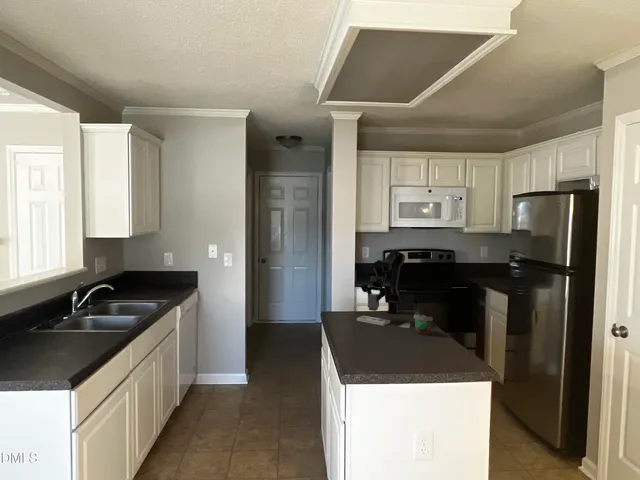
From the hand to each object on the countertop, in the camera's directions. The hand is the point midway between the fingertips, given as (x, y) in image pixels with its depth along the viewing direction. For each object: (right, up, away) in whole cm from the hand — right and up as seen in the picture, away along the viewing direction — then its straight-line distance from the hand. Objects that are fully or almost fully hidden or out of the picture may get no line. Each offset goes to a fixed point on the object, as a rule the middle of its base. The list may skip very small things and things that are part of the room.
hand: (372, 300), depth 255 cm
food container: (+23, -15, -18) cm, 33 cm away
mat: (+16, -14, -2) cm, 22 cm away
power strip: (+1, -13, +2) cm, 13 cm away
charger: (+1, -6, +2) cm, 6 cm away
